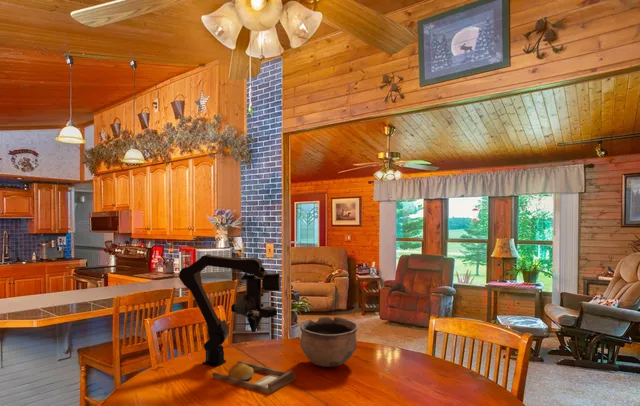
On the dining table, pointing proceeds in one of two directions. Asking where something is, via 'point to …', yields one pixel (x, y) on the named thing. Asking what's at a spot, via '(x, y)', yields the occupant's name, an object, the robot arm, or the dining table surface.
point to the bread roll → (241, 371)
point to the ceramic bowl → (328, 340)
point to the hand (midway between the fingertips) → (253, 332)
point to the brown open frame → (264, 385)
